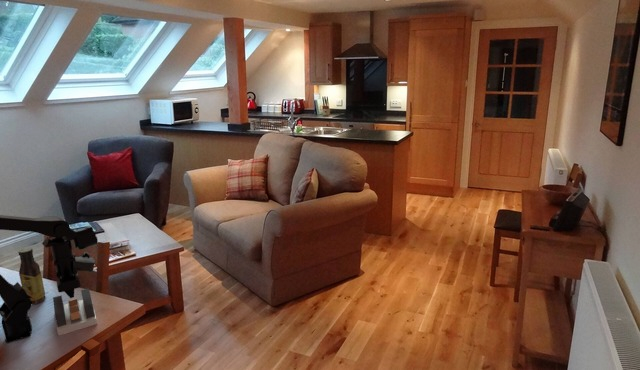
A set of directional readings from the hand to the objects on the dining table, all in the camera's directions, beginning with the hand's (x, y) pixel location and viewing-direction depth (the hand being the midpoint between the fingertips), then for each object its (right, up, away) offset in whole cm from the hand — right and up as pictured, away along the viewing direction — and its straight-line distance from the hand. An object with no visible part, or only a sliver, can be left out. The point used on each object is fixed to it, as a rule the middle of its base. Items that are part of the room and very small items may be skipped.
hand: (72, 297), depth 149 cm
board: (+2, -6, -2) cm, 7 cm away
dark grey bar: (-1, -5, -4) cm, 7 cm away
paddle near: (+5, -5, -6) cm, 9 cm away
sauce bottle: (-18, -4, +9) cm, 20 cm away
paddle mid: (+2, -4, -2) cm, 5 cm away
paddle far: (0, -3, +1) cm, 3 cm away
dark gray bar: (+6, -4, 0) cm, 7 cm away
